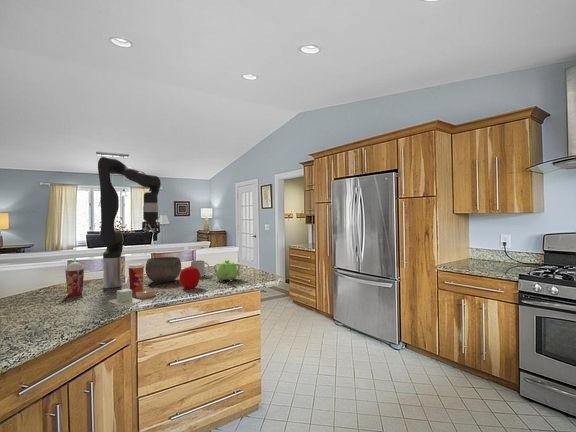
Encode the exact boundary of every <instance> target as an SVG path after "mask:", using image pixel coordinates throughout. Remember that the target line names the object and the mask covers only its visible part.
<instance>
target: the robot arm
mask: <svg viewBox="0 0 576 432" xmlns="http://www.w3.org/2000/svg"><path fill="white" fill-rule="evenodd" d="M97 172H98V179H99V189H100V190H99V191H100V220H101V221H100V231H99V232H100V233H99V240H100V243H101V244H102V246H104V247H106V250H105V251H104V252H103V253H102V265H103V266H102V271H103V273H102V276H103V279H102V281H103V283H102V284H103V288H104V289H114V288H119V287H121V286H122V253H123V250H124V249H123V247H124V245H123V244H124V243H123V242H124V238H123V234H122V232H121V231H120V230H118V229H115V220H116V218H117V217H116V216H117V214H118V212H119V206H120V203H119V201H120V199H119V195H118V192H117V191H116V189H115V187H114V185H113V183H112V181H111V175H119V176H123V177H125V178H126V179H128V180H129V181H131V182H132V183H133V182H134V183H137V184H138V185H140V186H141V187H143V188H146V189H147V188H149V189H148V191H147V192H144V194H143V207H142V211H143V212H142V214H143V215H142V216H143V217H142V218H143V221H142V223H141V233H143V234H144V241H149V240H150V234H149V233H150V231H151V232H152V242H157V241H158V235H159V233H161V222H160V221H157V220H159V205H158V195H159V192H160V188H161V184H162V183H161V179H160V177H158V176H157V175H154V174H153V175H152V174H147V173H145V172H144V171H141V170H139V169H136V168H133V167H131V166H128V165H126V164H124V162H122V161H120V160H118V159H117V158H113V157H107V156H101V157H100V158H98V161H97ZM144 220H145V221H144Z"/></svg>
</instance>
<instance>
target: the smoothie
mask: <svg viewBox="0 0 576 432" xmlns="http://www.w3.org/2000/svg"><path fill="white" fill-rule="evenodd" d="M64 271H65V280H66V281H65V282H66V284H65V285H66V293H67V294H68V296H70V297H72V296H80V295H81V294H82V293H83V291H84V277H85V276H84V274H85V267H84V265H83V264H82V263H81V262H77V261H76V256H73V261H72V262H70V263H69V264H68V265H67V266H66V268H65V269H64Z"/></svg>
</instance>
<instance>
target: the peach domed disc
mask: <svg viewBox="0 0 576 432" xmlns="http://www.w3.org/2000/svg"><path fill="white" fill-rule="evenodd" d="M155 296H156V289H153V288H146V289H144V288H143V290H139V291H136V292H135V299H140V300H141V299H150V298H155Z"/></svg>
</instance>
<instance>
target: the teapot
mask: <svg viewBox="0 0 576 432" xmlns="http://www.w3.org/2000/svg"><path fill="white" fill-rule="evenodd" d="M237 267H238V268H237ZM213 268H214V269H213V270H214V271H213V276H215V277H216V278H217V279H218V280H219V282H220V281H222V282H224V281H223V280H226V281H227V280H228V281H229V280H236V278H237V276H238V277H239V276H241V274H242V273H241V272H240V269H241V265H240V264H238V263H235V262H232V261H230V260H228V259H227V260H224V262H220V263H216V264H214V267H213Z"/></svg>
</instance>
